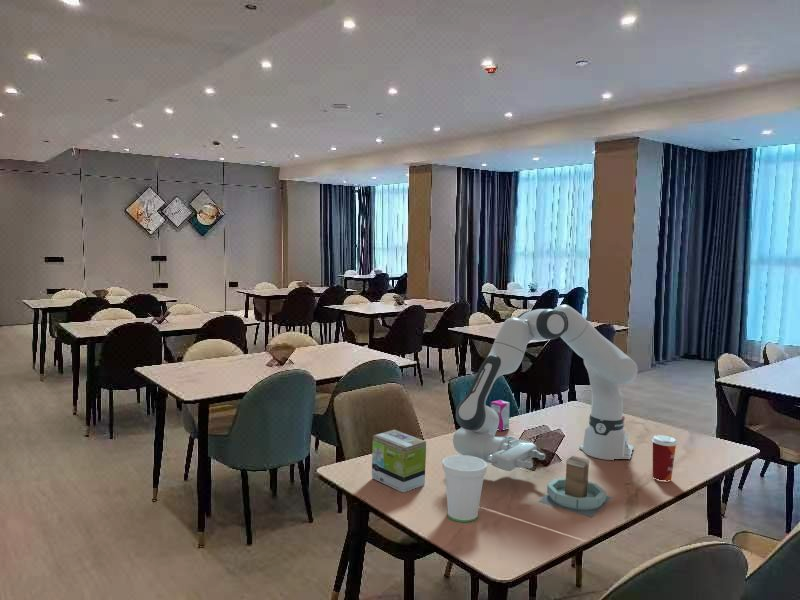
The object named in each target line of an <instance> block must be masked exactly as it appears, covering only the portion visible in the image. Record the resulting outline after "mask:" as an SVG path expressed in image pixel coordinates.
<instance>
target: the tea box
mask: <svg viewBox="0 0 800 600" xmlns="http://www.w3.org/2000/svg"><path fill="white" fill-rule="evenodd" d="M371 449H372V451H371V453H372V454H371V455H372V456H371V479H372V480H375V481H378V482H380V483H381V484H384V485H386V486H388V487H390V488H392V489H394V490H396V491H398V492H400V493H402V492H403V493H402V494H404V492H405V493H407V491H408V492H410V491H413V490H416V489H418V488H420V487H423V486H425V484H426V461H427V460H426V459H427V441H426V440H423V439H421V438H418V437H417V436H416V437H415V436H412V435H410V434H407V433H405V432H402V431H400V430H398V429H391V430H388V431H385V432H381V433H377V434H373V435H372V448H371ZM415 488H416V489H415ZM412 489H413V490H412ZM409 490H410V491H409Z"/></svg>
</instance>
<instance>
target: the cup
mask: <svg viewBox="0 0 800 600" xmlns="http://www.w3.org/2000/svg"><path fill="white" fill-rule="evenodd" d="M441 463H442V464H441V465H442V466H441V467H442V470H443V471H444V474H445V475H444V476H445V489H446V490H445V492H446V503H447V505H446V506H447V517H448V518H449V519H451V521H452V520H453V521H455V522H458V521H459V523H471V522H474V521H476V520H477V519H478V514H479V509H480V502H481V497H482V496H481V495H482V489H483V483H484V476H485V475H486V474H487V468H488V465H487V463H488V462H485V461H484V460H482V459H480V458H478V457H473V456H468V455H462V454H460V455H459V454H457V455H455V454H453V455H450V456H449V455H448V456H446V457H445V458H444V459H442V462H441ZM476 518H477V519H476ZM475 519H476V520H475ZM473 520H474V521H473ZM470 521H471V522H470Z"/></svg>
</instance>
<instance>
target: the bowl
mask: <svg viewBox="0 0 800 600" xmlns="http://www.w3.org/2000/svg"><path fill="white" fill-rule="evenodd" d="M565 483H566V477H565V478H564V477H563V478H559V477H558V478H554V479H553V480H552V481H550V482H548V484H547V485H546V486H547V488H546V489H547V490H546V493H547V495H548V494H549V495H550V499H551V500H552V501H553V502H555V503H556V504H558V505H560V506H563V507H566V508H569V509H574V510H595V509H598V508H600V507H601V506H602V503H603V502H604V501H605V500H606V496H607V491H606V490H604V489H603V488H602V487H601V486H600V485H598V484H597V483H596V482H592V481H589V480H588V487H587V496H586V497H585V498H576V497H573V496H569V495H566V494H565Z"/></svg>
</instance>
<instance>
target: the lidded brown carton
mask: <svg viewBox="0 0 800 600" xmlns="http://www.w3.org/2000/svg"><path fill="white" fill-rule="evenodd" d="M565 462H566V466H565V467H566V468H565V469H566V470H565V472H566V473H565V478H566V483H565V494H566V495H569V496H573V497H576V498H585V497H586V496H587V487H588V481H589V471H590V470H589V467H590V459H589V458H584V457H580V456H576V455H572V456H570V457H569V458H568V459H566V460H565Z"/></svg>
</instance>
